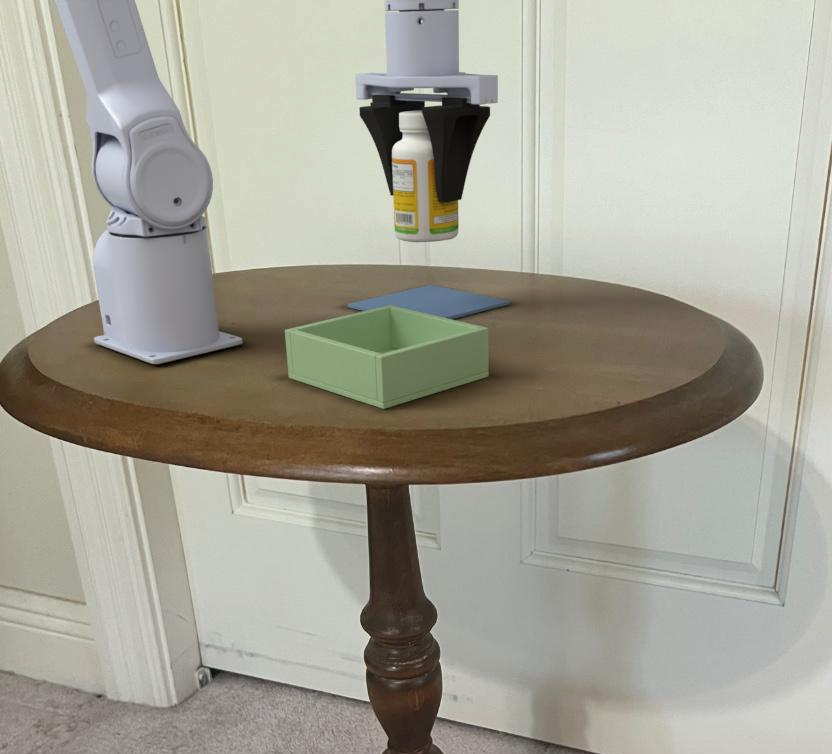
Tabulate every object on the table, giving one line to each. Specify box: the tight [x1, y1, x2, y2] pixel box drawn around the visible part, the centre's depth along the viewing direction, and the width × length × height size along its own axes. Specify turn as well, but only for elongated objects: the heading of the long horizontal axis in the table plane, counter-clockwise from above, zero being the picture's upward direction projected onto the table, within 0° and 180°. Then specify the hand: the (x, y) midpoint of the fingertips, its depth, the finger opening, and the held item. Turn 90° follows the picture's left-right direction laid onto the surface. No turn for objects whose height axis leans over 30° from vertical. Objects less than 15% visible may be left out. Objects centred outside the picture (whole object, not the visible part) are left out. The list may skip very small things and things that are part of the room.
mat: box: [347, 284, 510, 320], centre depth 94 cm, size 10×10×1 cm
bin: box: [284, 305, 490, 410], centre depth 75 cm, size 10×10×3 cm
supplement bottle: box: [392, 110, 460, 243], centre depth 89 cm, size 5×5×10 cm
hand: (425, 197), depth 90 cm, fingers closed on supplement bottle, 5 cm apart
